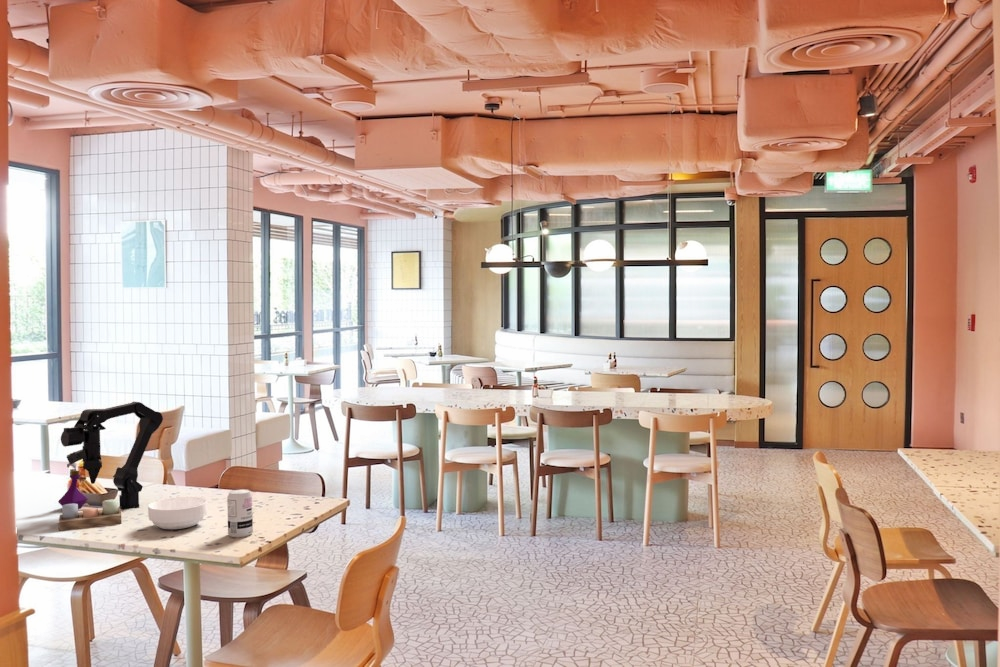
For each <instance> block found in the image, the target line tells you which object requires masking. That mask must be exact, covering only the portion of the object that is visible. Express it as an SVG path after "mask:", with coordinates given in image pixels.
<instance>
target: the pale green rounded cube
mask: <svg viewBox="0 0 1000 667" xmlns="http://www.w3.org/2000/svg"><path fill="white" fill-rule="evenodd" d="M101 504H102V510H103V515H111V514H118V508H119V507H118V499H115V498H114V499H105V500H103V501H102V503H101Z"/></svg>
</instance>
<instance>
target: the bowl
mask: <svg viewBox="0 0 1000 667" xmlns="http://www.w3.org/2000/svg"><path fill="white" fill-rule="evenodd" d="M207 505H208V501H207V500H206V498H203V497H198V496H179V497H178V496H175V497H169V498H164V499H158V500H156V501H152V502H151V503H149V504H148V505H147V511H148V512H147V513H148V519H149V521H150V522H152V524H153V525H155V526H157V527H158V528H160V529H162V530H178V529H179V530H180V529H186V528H190V527H193V526H196V525H197V524H198V523H199V522H201V521H202V520H203V519H204V517H205V516H206V515H207V513H208V512H207V510H208V509H207V508H208V506H207Z"/></svg>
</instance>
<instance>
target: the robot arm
mask: <svg viewBox="0 0 1000 667" xmlns="http://www.w3.org/2000/svg"><path fill="white" fill-rule="evenodd" d="M130 414H134V415H135V416H136V417H137V418H138V419H139V423H138V425H139V432H138V433H137V435H136V438H135V441H134V443H133V445H132V447H131V450H130V451H129V454H128V457H127V459H126V461H125V464H123V466H122V467H120V466H118V467H117V468H116V470H115V473H114V474H113V476H112V477H113V480H112V481H113V485H114V486H115V487H116V488H117V491H118V492H120V494H119V508H120V510H125V509H134V508H135V509H136V508H140V497H139V496H140V494H139V493H141V492H142V490H143V485H142V484H140V482H138V476H139V475H138V474H139V473H138V468H139V465H140V463H141V461H142V458H143V456H144V454H145V451H146V449H147V447H148V444H149V442H150V440H151V437H152V436H153V434H154V433H155V432H156V431H157V430H158V429H159V428H160V426H161V425H162V423H163V421H164V417H163V414H162V413H161V412H159V411H156V410H154V409H152V408H150V407H149V406H147V405H145V404H144V403H143V402H140V401H132V402H128V403H124V404H120V405H116V406H111V407H106V408H98V409H97V408H89V409H87V408H86V409H84V410H83V411H81V413H80V416H79V418H78V420H77V422H76V423H75V425H73V426H72V427H64V428H63V431H62V432H61V436H60V443H61V445H62V446H63V447H64V448H66V447H72V446H78V445H82V444H83V446H82V449H79V450H77V451H73V452H70V453H69V454H66V459H67V461H68V464H70V466H71V464H73V463H76V462H79V461H81V460H82V469H83V470H86V471H87V472H88V476H89V480H90V483H91V485H93V484H94V485H95V483H96V481H97V478H98V476H99V472H100V470H101V469H102V468H103V462H102V455H101V431H103V430H104V431H105V430H106V427H105V426H103V423H105V422H106V421H108V420H110V419H115V418H117V417H122V416H126V415H130Z"/></svg>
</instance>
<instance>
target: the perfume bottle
mask: <svg viewBox="0 0 1000 667" xmlns="http://www.w3.org/2000/svg"><path fill="white" fill-rule="evenodd" d="M70 466H71V467H72V468H74V470H72V471H71V475H70V476H69V478H71V482H70V486H69V488H68V489H67V491H66V492H65V493H64V495H63V496H62V497H61V498H60V499H59V500H58V504H59V505H60V506H61V507H62V506H63V505H65V504H72V503H76V504H78V509H80V508H82V507H83V506H85V504H86V502H87V501H88V499H89V498H88V497H87V496H86V495H84V494H83V493H82V492H81V491H80V489H78V486H77V485H78V480H79V479H80V478H81V477H82V474H80V472H81V471H80V470H77V463H76V462H75V463H73V464H71V465H70V464H69V463H67V464H66V467H67V469H69V468H70Z"/></svg>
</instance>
